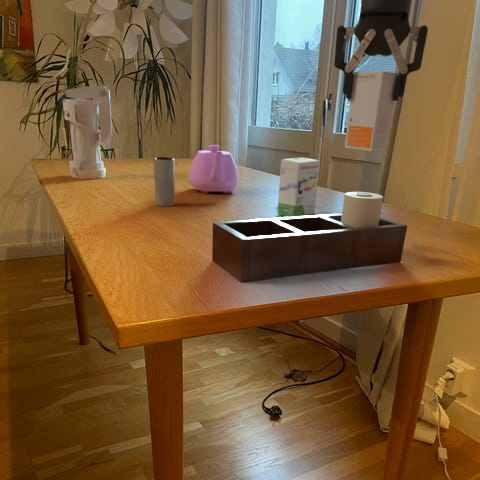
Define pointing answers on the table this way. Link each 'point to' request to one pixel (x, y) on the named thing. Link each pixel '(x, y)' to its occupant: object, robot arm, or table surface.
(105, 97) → the lantern
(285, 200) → the ink box
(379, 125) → the cosmetic box
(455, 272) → the table surface
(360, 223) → the towel roll
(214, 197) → the table surface
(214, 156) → the teapot
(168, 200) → the grey cylinder
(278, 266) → the box
